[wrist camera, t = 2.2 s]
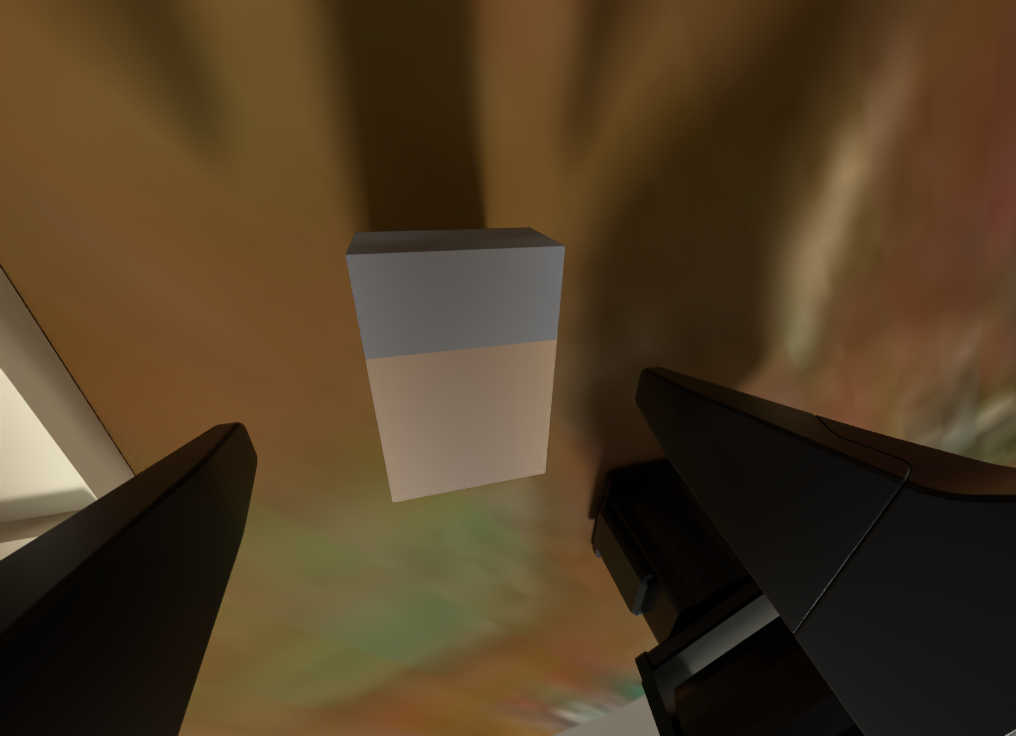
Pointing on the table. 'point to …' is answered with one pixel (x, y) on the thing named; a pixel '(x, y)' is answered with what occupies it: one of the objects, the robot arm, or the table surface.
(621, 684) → the table surface
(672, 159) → the table surface
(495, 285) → the gray and beige block
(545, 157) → the table surface
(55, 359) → the rail
